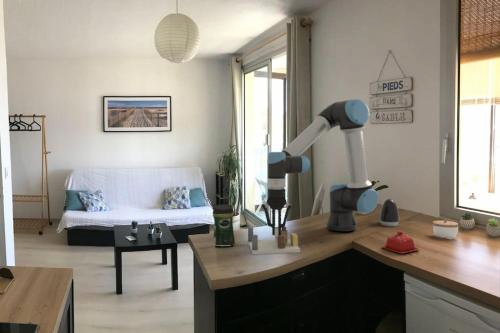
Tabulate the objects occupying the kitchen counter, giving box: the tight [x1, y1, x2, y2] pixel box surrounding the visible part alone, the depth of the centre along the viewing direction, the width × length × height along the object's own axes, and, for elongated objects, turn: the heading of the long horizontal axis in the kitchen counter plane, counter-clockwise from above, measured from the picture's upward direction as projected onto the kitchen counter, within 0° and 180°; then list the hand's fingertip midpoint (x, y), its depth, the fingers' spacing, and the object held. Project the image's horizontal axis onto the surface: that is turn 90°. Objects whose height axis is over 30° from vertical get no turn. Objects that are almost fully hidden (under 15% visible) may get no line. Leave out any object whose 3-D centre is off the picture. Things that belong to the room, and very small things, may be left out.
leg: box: [277, 226, 289, 248], centre depth 168 cm, size 14×3×6 cm, turn 169°
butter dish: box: [381, 230, 420, 254], centre depth 162 cm, size 12×12×8 cm
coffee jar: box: [212, 204, 236, 246], centre depth 173 cm, size 10×8×19 cm
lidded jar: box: [432, 218, 459, 241], centre depth 179 cm, size 11×11×9 cm
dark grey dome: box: [379, 198, 401, 227], centre depth 207 cm, size 10×10×15 cm
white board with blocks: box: [247, 227, 301, 255], centre depth 168 cm, size 20×18×8 cm
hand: (276, 242), depth 165 cm, fingers closed
